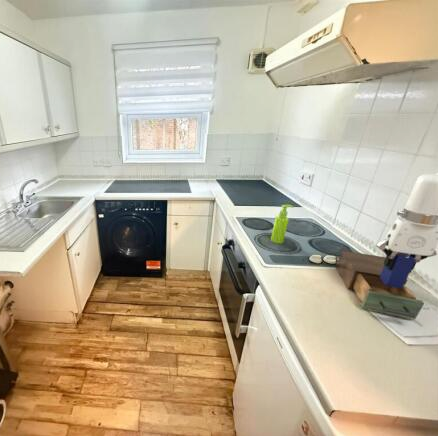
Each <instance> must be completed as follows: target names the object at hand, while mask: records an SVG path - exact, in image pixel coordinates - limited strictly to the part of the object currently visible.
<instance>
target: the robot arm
mask: <svg viewBox="0 0 438 436" xmlns="http://www.w3.org/2000/svg"><path fill="white" fill-rule="evenodd" d="M396 216H399V217H397V219H395V221H394V222H393V224H392V225H391V227H390V228H389V230H388V231H387V233H386V236H385V237H384V239H383V240H382V241H380V242H379V243H377V244H376V247H377V248H378V249H379V250H380V251H382V252H383V253H384V254H385V257H386V258H385V260H384V266H385V267H386V268H387V269H388V270H391V269H392V267H393V265H394V262H395V259H394V257H395V256H396V255H397V254H398V252H400V253H407V254H410V255H411V256H412V257H414V258H415V259H416V261H415V263H414V265H413V267H412V269H411V271H410V273H409V274H411V273H412V271H413V270H414V269H415V266H416V265H417V263H420V262H421V261H423V260H425V259H428V258H432V257H435V256H437V255H438V253H437V251H436V248H437V246H438V172H437V173H426V174H421V175H420V176H418V177H417V179H416V180H415V183H414V185H413V187H412V190H411V192H410V195H409V197H408V200H407V201H406V205H405V206H404V208H403V210H402V211H400V210H397V212H396ZM387 247H388V248H387Z"/></svg>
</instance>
